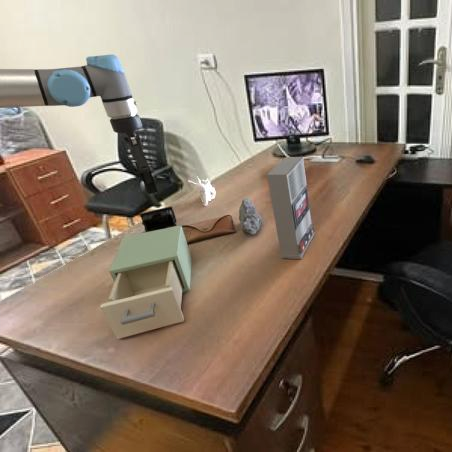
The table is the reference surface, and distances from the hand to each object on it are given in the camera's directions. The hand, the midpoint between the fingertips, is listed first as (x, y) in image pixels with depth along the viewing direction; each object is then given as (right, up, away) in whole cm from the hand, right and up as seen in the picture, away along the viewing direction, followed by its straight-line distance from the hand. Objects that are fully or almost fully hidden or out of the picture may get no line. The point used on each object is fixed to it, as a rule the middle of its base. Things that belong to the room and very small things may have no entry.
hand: (149, 186), depth 108 cm
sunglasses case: (+16, -15, +6) cm, 23 cm away
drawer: (+16, -32, -27) cm, 45 cm away
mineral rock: (+29, -13, +7) cm, 33 cm away
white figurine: (+6, -2, +31) cm, 32 cm away
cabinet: (+11, -27, -15) cm, 32 cm away
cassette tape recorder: (+47, -18, -5) cm, 51 cm away
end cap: (-2, -13, +12) cm, 18 cm away
